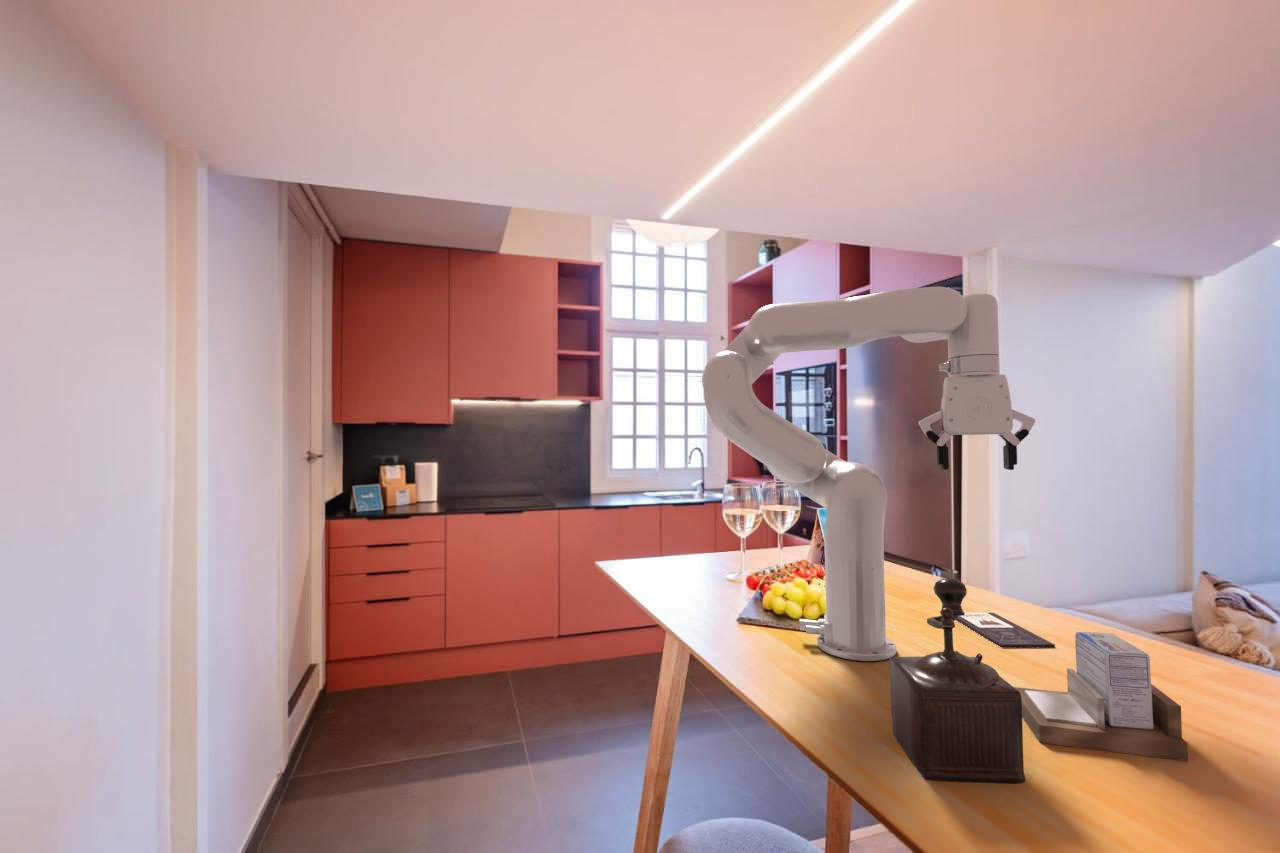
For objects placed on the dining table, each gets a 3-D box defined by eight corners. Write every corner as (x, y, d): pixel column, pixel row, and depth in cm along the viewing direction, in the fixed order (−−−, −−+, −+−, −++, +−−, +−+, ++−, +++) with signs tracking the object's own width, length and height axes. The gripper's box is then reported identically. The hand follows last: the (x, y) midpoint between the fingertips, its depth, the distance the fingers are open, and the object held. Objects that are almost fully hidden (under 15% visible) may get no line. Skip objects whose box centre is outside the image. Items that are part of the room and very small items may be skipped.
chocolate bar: (1000, 644, 99) (947, 612, 117) (1000, 650, 99) (947, 617, 117) (1054, 644, 98) (993, 612, 116) (1055, 650, 98) (993, 617, 116)
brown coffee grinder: (1034, 785, 60) (1029, 609, 60) (923, 781, 61) (919, 608, 61) (963, 714, 75) (959, 574, 76) (875, 712, 76) (872, 574, 77)
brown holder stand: (1039, 742, 68) (1038, 694, 68) (1011, 701, 78) (1010, 660, 79) (1188, 761, 64) (1186, 710, 64) (1136, 715, 74) (1135, 671, 74)
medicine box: (1154, 731, 66) (1152, 655, 66) (1109, 727, 67) (1106, 652, 67) (1116, 701, 74) (1114, 632, 74) (1076, 697, 75) (1073, 630, 75)
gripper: (921, 368, 98) (923, 470, 97) (1040, 363, 93) (1043, 470, 92) (914, 373, 105) (917, 468, 105) (1025, 368, 100) (1027, 468, 99)
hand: (976, 469), depth 98 cm, fingers open, 9 cm apart
